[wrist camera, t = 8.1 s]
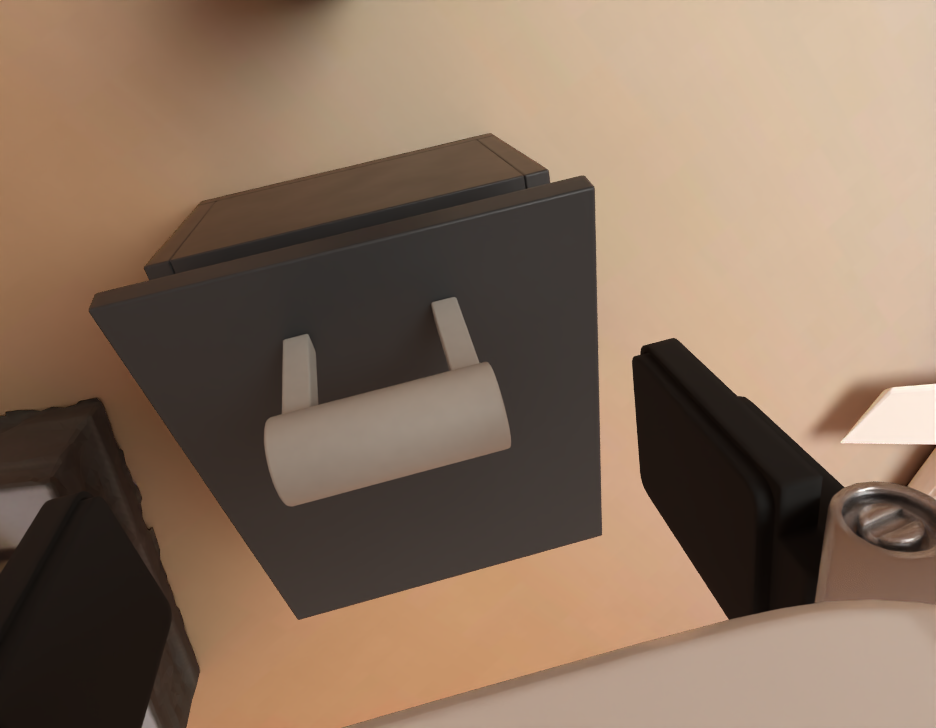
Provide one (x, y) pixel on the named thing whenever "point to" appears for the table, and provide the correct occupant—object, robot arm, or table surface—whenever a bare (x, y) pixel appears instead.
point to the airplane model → (902, 426)
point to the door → (387, 392)
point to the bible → (101, 474)
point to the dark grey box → (345, 202)
